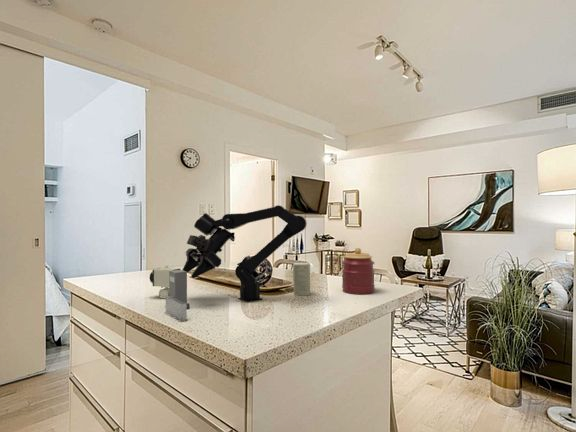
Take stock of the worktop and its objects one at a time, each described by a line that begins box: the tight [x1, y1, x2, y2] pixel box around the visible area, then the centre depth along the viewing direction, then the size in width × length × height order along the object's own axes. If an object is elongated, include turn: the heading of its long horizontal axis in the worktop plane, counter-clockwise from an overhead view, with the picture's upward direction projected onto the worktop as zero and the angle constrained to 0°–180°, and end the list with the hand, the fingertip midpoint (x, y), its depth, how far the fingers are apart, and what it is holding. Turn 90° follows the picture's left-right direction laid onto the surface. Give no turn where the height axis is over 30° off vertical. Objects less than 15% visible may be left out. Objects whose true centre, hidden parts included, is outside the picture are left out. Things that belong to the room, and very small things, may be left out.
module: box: [169, 269, 188, 304], centre depth 112 cm, size 4×6×12 cm
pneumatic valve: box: [149, 265, 181, 300], centre depth 126 cm, size 6×12×12 cm, turn 78°
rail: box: [165, 296, 191, 322], centre depth 101 cm, size 3×13×5 cm, turn 39°
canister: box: [341, 247, 376, 295], centre depth 134 cm, size 13×13×18 cm
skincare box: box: [292, 262, 311, 296], centre depth 130 cm, size 6×4×12 cm
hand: (186, 275), depth 115 cm, fingers open, 9 cm apart
